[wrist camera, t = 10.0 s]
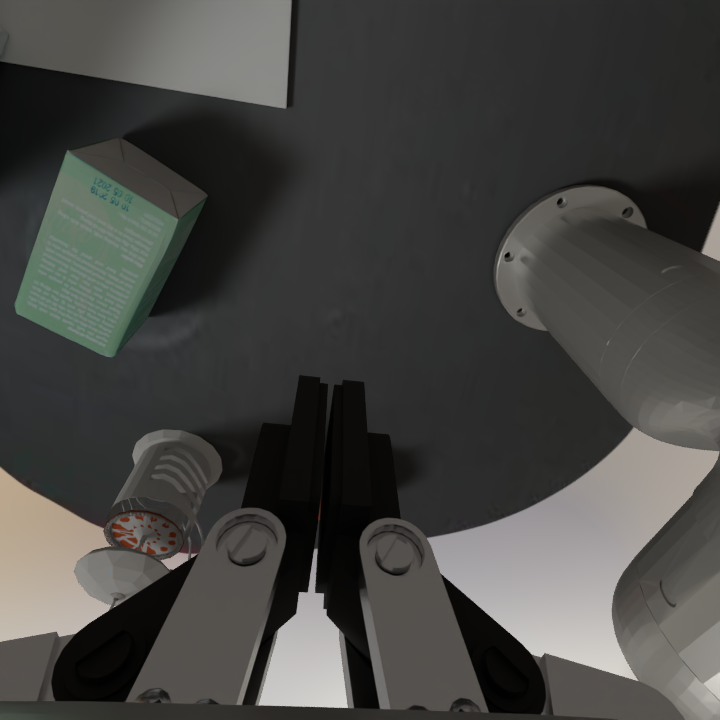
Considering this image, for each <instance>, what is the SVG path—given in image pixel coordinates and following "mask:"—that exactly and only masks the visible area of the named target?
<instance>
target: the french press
mask: <svg viewBox="0 0 720 720" xmlns="http://www.w3.org/2000/svg"><path fill="white" fill-rule="evenodd" d="M132 455H133V459H134V463H135V467H134V469H133V471H132V472H131V474H130V476H129V478H128V479H127V481H126V483H125V485H124V486H123V488H122V490H121V492H120V493H119V495H118V497H117V499H116V501H115V503H114V504H113V506H112V508H111V510H110V512H109V515H108V521H107V522H106V525H105V528H104V535H105V537H106V540H107V542H108V543H109V544H110V545H111V546H112V547H105V548H101V549H96V550H93V551H91V552H90V553H88V554H87V555H85V556H84V557H83V558H81V559H80V560H78V561H77V564H76V567H75V570H74V573H75V575H76V578H77V580H78V583H79V584H80V585H81V586H82V587H83V588H84V590H85V591H86V592H87V593H88V594H89V595H90V596H92V597H94V598H96V599H98V600H100V601H102V602H104V603H106V604H109V605H111V607H110V610H111V609H113V607H114V606H117V605H119V604H120V603H122V602H124V601H125V600H127V599H128V598H130V597H131V596H133V595H135V594H136V593H138V592H139V591H141V590H142V589H144V588H146V587H147V586H149V585H150V584H152V583H153V582H155V581H156V580H158V579H160V578H161V577H163V576H164V575H166V574H167V573H169V572H171V571H172V570H171V569H170V570H169V569H168V568H167V567H166V566H165V565H164V564H163V563H162V562H161V561H160V560H162V559H163V560H164V559H167V558H171V557H172V556H174V555H175V554H177V553H178V552H180V550H181V548H182V546H183V544H184V541H185V540H187V539H188V541H189V556H188V560H189V559H191V539H190V533H191V531H192V528H193V526H194V523H196V525H197V527H198V529H199V532H200V535H201V539H202V546H203V544H204V537H203V533H202V529H201V527H200V525H199V523H198V521H197V519H196V517H197V514H198V511H199V508H200V506H201V503H202V500H203V497H204V494H205V491H206V489H207V488H209V487H210V486H212V485H213V484H214V483H216V482H217V481H218V479H219V477H220V475H221V473H222V462H221V457H220V456H219V454H218V453H217V451H216V450H215V449H214V447H213V446H212V445H211V444H209V443H208V442H206V441H205V440H204V439H202V438H201V437H199V436H197V435H194V434H191V433H188V432H185V431H182V430H159V431H156V432H152V433H149V434H146V435H145V436H144V437H143V438H142V439H140V440H139V441H138V442H137V443H136V445H135V448H134V451H133V454H132ZM195 492H197V494H198V496H197V499H196V498H195V496H194V493H195ZM134 497H136V498H137V501H138V502H139V503H140V504H141V505H142V506H143V507H145V508H146V509H151V510H156V511H160V510H166V513H165V514H157V513H154V512H150V511H141V510H140V509H139V508H137V507H136V506H135V503H134V501H133V498H134ZM142 497H148V498H149V499H152V500H157V501H161V502H162V501H167V502H169V505H160V506H159V505H155V504H150V503H147V502H146V501H145V500H144V499H143V498H142ZM125 499H129V502H130V505H131V508H132V510H130V511H128V508H127V504H126V500H125ZM121 500H122V507H123V510H124V512H122V513H120V508H119V501H121ZM191 501H192V502H193V504H194V507H193V510H192V509H191V507H190V503H191ZM185 516H187V517H188V519H189V521H188V524H187V526H185V524H184V519H185ZM182 525H183V528H184V530H185V532H184V535H183V536H182V532H181V527H182Z"/></svg>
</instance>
